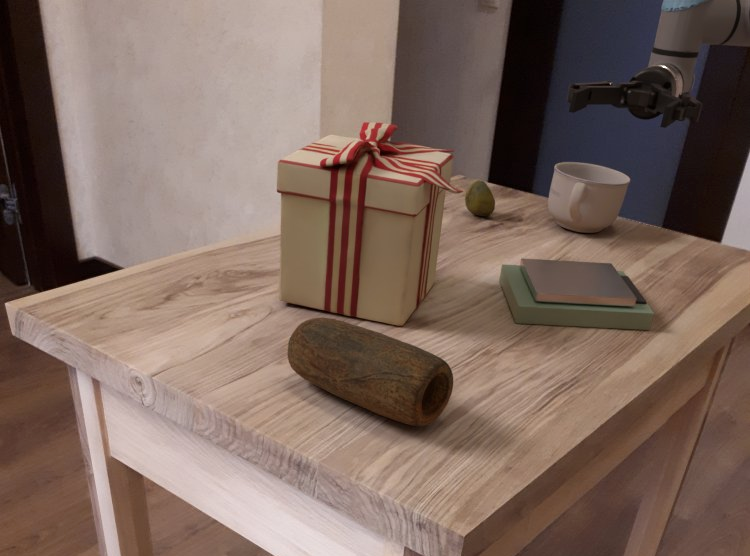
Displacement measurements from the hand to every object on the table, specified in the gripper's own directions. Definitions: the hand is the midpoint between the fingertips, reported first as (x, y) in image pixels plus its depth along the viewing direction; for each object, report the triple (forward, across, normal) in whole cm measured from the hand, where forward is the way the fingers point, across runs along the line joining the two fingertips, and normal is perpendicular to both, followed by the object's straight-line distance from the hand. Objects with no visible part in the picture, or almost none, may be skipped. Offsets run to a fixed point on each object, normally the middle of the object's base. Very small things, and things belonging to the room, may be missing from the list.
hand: (618, 109), depth 115 cm
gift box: (+50, +11, -15) cm, 53 cm away
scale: (+38, -8, -15) cm, 42 cm away
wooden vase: (+72, -1, -15) cm, 74 cm away
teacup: (+10, 0, -15) cm, 18 cm away
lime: (+13, +14, -15) cm, 25 cm away
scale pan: (+38, -8, -12) cm, 41 cm away
